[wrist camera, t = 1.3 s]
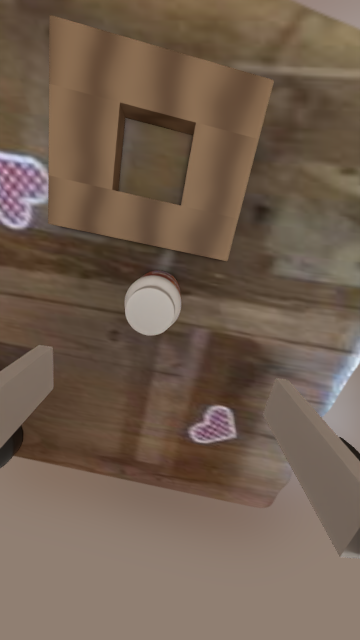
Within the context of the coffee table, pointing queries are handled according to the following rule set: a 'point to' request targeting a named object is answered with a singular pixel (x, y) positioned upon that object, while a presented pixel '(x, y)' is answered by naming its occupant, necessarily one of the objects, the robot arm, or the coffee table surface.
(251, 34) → the coffee table surface
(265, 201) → the coffee table surface
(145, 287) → the pill bottle
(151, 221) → the square wooden frame
